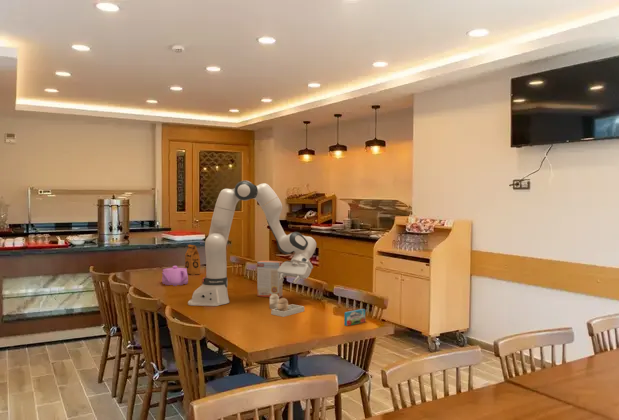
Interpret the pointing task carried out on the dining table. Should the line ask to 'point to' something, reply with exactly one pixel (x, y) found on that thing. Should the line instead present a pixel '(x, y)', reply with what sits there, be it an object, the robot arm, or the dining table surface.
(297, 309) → the carton
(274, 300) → the cream egg
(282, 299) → the brown egg
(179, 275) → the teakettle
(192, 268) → the coffee package
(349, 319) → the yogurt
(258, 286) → the cracker box
